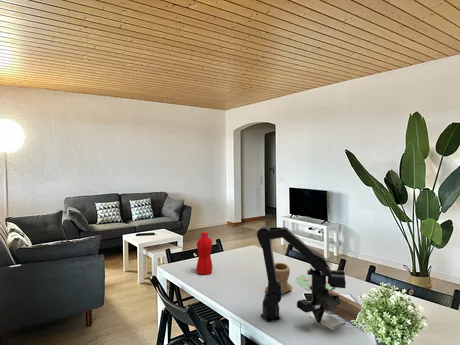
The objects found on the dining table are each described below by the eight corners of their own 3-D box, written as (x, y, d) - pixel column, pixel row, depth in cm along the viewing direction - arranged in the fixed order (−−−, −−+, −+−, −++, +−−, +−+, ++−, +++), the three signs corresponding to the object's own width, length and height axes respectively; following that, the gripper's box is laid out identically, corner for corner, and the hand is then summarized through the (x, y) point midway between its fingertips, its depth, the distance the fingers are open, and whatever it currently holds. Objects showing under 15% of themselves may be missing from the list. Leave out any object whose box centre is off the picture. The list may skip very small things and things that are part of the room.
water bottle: (213, 269, 193) (213, 230, 193) (210, 275, 183) (210, 234, 182) (199, 269, 194) (199, 230, 194) (195, 275, 183) (195, 233, 183)
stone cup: (279, 299, 149) (279, 269, 149) (261, 292, 159) (262, 263, 158) (298, 291, 159) (298, 263, 159) (281, 285, 168) (281, 258, 168)
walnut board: (366, 331, 120) (366, 311, 120) (320, 305, 143) (320, 288, 143) (371, 330, 121) (371, 310, 121) (324, 303, 145) (325, 287, 145)
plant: (284, 281, 175) (284, 266, 175) (307, 274, 187) (307, 259, 187) (320, 296, 155) (321, 278, 155) (343, 286, 167) (343, 270, 167)
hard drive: (345, 321, 126) (321, 310, 136) (332, 327, 121) (308, 314, 132) (345, 325, 126) (321, 313, 136) (332, 331, 121) (308, 318, 132)
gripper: (314, 296, 115) (314, 337, 115) (350, 288, 123) (350, 326, 123) (296, 286, 125) (295, 324, 125) (330, 279, 133) (329, 314, 133)
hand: (318, 322), depth 126 cm, fingers closed
